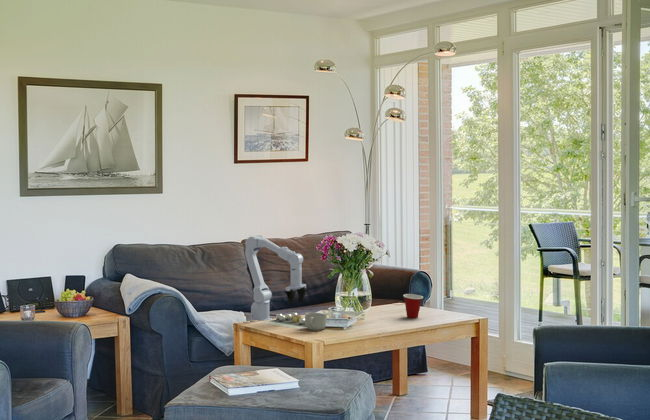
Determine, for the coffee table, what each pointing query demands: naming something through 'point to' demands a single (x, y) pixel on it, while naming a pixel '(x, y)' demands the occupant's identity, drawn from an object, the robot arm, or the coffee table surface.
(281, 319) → the spacers
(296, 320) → the nut
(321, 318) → the teacup
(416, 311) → the plastic cup
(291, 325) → the mat
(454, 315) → the coffee table surface
